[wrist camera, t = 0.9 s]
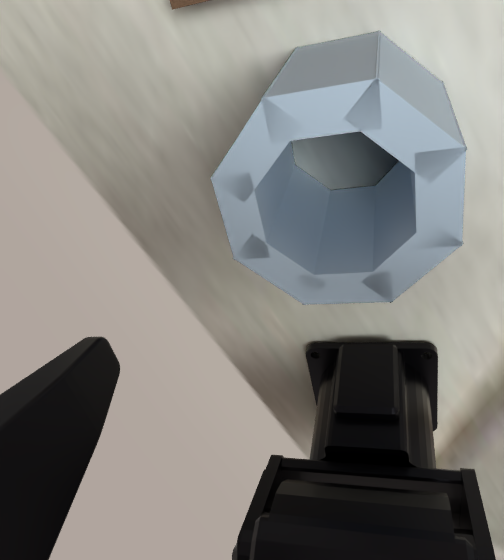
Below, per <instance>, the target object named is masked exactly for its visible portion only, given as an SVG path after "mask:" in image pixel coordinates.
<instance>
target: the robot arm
mask: <svg viewBox="0 0 504 560" xmlns="http://www.w3.org/2000/svg"><path fill="white" fill-rule="evenodd" d="M314 352H318V353H314ZM424 352H429V353H428V354H425V353H424ZM306 358H307V362H308V367H309V372H310V376H311V381H312V386H313V391H314V395H315V400H316V405H317V410H316V417H315V425H314V432H313V439H312V446H311V453H310V460H309V459H295V458H284V457H283V456H282V455H271V457H270V459H269V462H268V465H267V467H266V470H264V471H263V474H262V476H261V479H260V481H259V484H258V487H257V489H256V492H255V495H254V497H253V500H252V502H251V505H250V507H249V510H248V512H247V515H246V518H245V520H244V523H243V525H242V528H241V530H240V533H239V536H238V540H237V544H236V546H235V547H234V549H233V553H232V560H496V559H495V554H494V549H493V545H492V541H491V537H490V532H489V528H488V524H487V520H486V516H485V511H484V507H483V503H482V499H481V495H480V490H479V486H478V482H477V478H476V474H475V470H474V469H464V468H460V470H447V469H436V461H435V450H434V439H433V431H435V430H436V429H437V386H438V354H437V348H436V347H435V346H434V345H433V344H431V343H312V344H310V345H308V347H307V351H306ZM119 373H120V365H119V362H118V360H117V358H116V356H115V354H114V352H113V350H112V348H111V346H110V344H109V342H108V341H107V340H106V339H105V338H103V337H87V338H85V339H83V340H82V341H80V342H78V343H77V344H75V345H74V346H73V347H71V348H70V349H68V350H66V351H65V352H63V353H62V354H60V355H59V356H57V357H56V358H54V359H53V360H51V361H50V362H49V363H47V364H45V365H44V366H43V367H41V368H39V369H38V370H36V371H35V372H34V373H32V374H31V375H29V376H28V377H26V378H24V379H23V380H21V381H20V382H19V383H17V384H16V385H14V386H13V387H11V388H10V389H8V390H7V391H5V392H4V393H2V394H1V395H0V560H49V557H50V555H51V552H52V550H53V547H54V545H55V543H56V540H57V538H58V536H59V533H60V531H61V528H62V526H63V524H64V521H65V519H66V517H67V514H68V512H69V509H70V507H71V505H72V502H73V500H74V498H75V495H76V493H77V490H78V488H79V485H80V483H81V481H82V478H83V476H84V474H85V471H86V469H87V466H88V464H89V462H90V459H91V457H92V454H93V452H94V450H95V447H96V445H97V442H98V440H99V437H100V435H101V432H102V429H103V426H104V423H105V419H106V416H107V413H108V409H109V406H110V403H111V400H112V396H113V393H114V390H115V387H116V384H117V380H118V377H119Z"/></svg>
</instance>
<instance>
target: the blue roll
mask: <svg viewBox="0 0 504 560" xmlns="http://www.w3.org/2000/svg"><path fill="white" fill-rule="evenodd" d="M261 99H262V100H261V102H260V103H259V105H258V106H257V108H256V109H255V111H254V113H253V114H252V116H251V117H250V119H249V120H248V122H247V123H246V125H245V127H244V128H243V130H242V131H241V133H240V134H239V136H238V138H237V139H236V141H235V142H234V143H233V145H232V146H231V148H230V149H229V151H228V152H227V154H226V155H225V157H224V158H223V160H222V161H221V163H220V164H219V166H218V167H217V169H216V170H215V172H214V173H213V175H212V176H211V180H212V184H213V187H214V191H215V194H216V198H217V201H218V205H219V208H220V212H221V215H222V219H223V222H224V226H225V229H226V233H227V236H228V240H229V243H230V246H231V250H232V253H233V258H234V260H237V261H238V262H240V263H241V264H243V265H244V266H246V267H247V268H249V269H250V270H252V271H253V272H255V273H257V274H258V275H260V276H261V277H263V278H264V279H266V280H267V281H269V282H270V283H272V284H273V285H275V286H276V287H278V288H279V289H281V290H283V291H284V292H286V293H287V294H289V295H290V296H292V297H293V298H295V299H296V300H298V301H299V302H301V303H302V304H303V305H306V304H339V303H374V302H390V303H391V302H393V300H395V299H396V298H397V297H398V296H400V295H401V294H402V293H403V292H404V291H406V290H407V289H408V288H409V287H411V286H412V285H413V284H414V283H416V282H417V281H418V280H419V279H420V278H422V277H423V276H424V275H425V274H427V273H428V272H429V271H430V270H432V269H433V268H434V267H435V266H436V265H438V264H439V263H440V262H441V261H443V260H444V259H445V258H446V257H448V256H449V255H450V254H451V253H452V252H454V251H455V250H456V249H457V248H459V247H460V246H462V244H463V241H462V234H463V209H464V185H465V160H466V150H467V147H466V145H465V142H464V139H463V136H462V133H461V131H460V128H459V125H458V122H457V119H456V116H455V114H454V111H453V108H452V105H451V102H450V100H449V97H448V94H447V91H446V88H445V86H444V83H443V81H442V82H441V81H440V80H439V79H438V78H437V77H435V76H434V75H433V74H432V73H430V72H429V71H428V70H427V69H425V68H424V67H423V66H422V65H421V64H419V63H418V62H417V61H416V60H414V59H413V58H412V57H411V56H409V55H408V54H407V53H406V52H405V51H403V50H402V49H401V48H400V47H398V46H397V45H396V44H395V43H393V42H392V41H391V40H390V39H389V38H387V37H386V36H385V35H384V34H382V33H381V31H378V32H373V33H368V34H363V35H358V36H353V37H348V38H343V39H338V40H333V41H328V42H323V43H318V44H313V45H308V46H303V47H297V48H295V50H294V51H293V53H292V54H291V56H290V57H289V59H288V60H287V62H286V63H285V64H284V66H283V67H282V69H281V70H280V72H279V73H278V75H277V76H276V78H275V79H274V80H273V82H272V83H271V85H270V86H269V88H268V89H267V91H266V92H265V94H264V95H263V96H262V98H261ZM358 131H361V132H362V133H363V134H365V135H366V136H367V137H368V138H370V139H371V140H372V141H374V142H375V143H376V144H378V145H379V146H380V147H382V148H383V149H384V150H386V151H387V152H388V153H390V154H391V155H392V156H394V157H395V158H396V159H398V160H399V161H398V163H397V164H396V165H395V166H394V167H393V168H392V169H391V170H390V171H389V172H388V173H387V174H386V175H385V176H384V177H383V178H382V179H381V181H380V182H379V183H378V184H377V185H376V186H367V187H357V188H348V189H338V190H329V189H328V188H327V187H325V186H324V185H322V184H321V183H320V182H318V181H317V180H316V179H314V178H313V177H311V176H310V175H309V174H307V173H306V172H304V171H303V170H302V169H300V168H299V167H297V166H296V165H295V161H294V156H293V150H292V144H291V141H293V140H300V139H307V138H315V137H322V136H329V135H336V134H344V133H351V132H358Z"/></svg>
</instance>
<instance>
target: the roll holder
mask: <svg viewBox="0 0 504 560" xmlns="http://www.w3.org/2000/svg"><path fill="white" fill-rule="evenodd" d="M205 1H209V0H170V3H171V7H172V9H176V8H180V7H185V6H189V5H193V4H197V3H201V2H205Z"/></svg>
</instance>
